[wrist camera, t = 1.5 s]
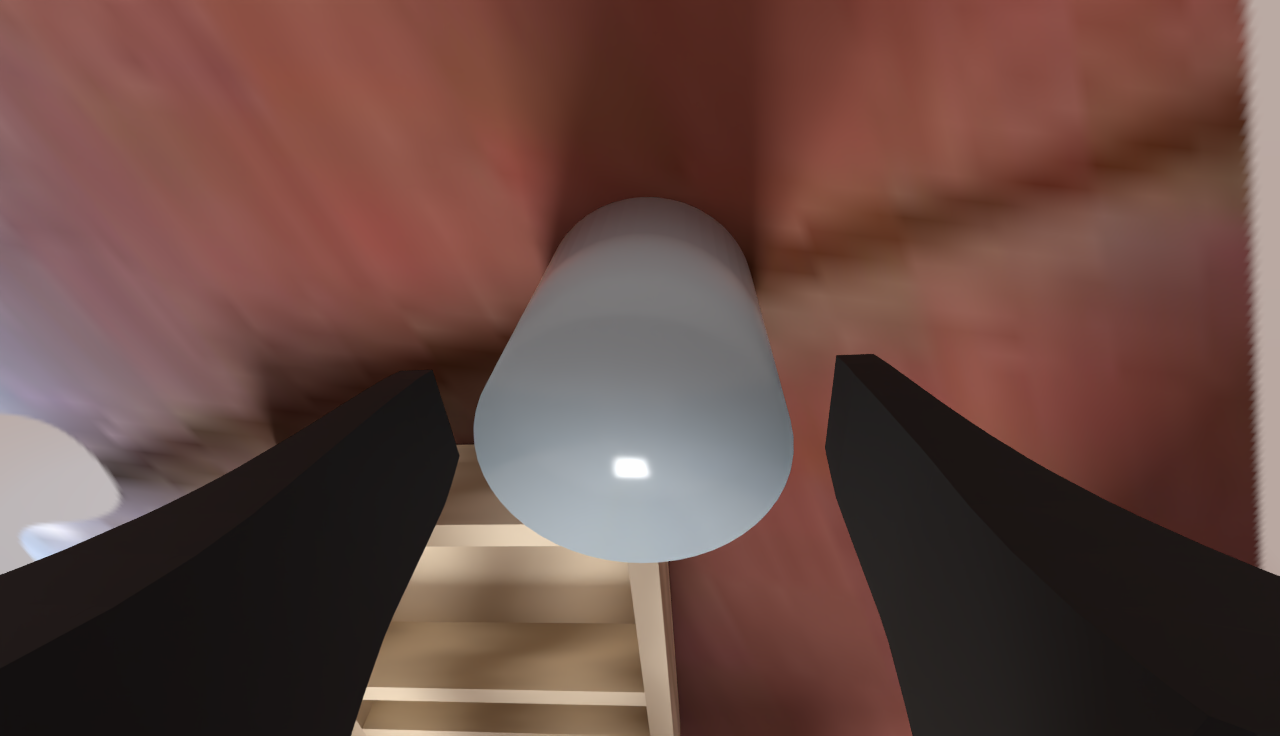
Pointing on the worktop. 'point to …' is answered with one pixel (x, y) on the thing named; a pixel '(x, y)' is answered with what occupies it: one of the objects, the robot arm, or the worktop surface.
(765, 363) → the pale blue cylinder
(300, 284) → the worktop surface
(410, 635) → the wooden shelf
